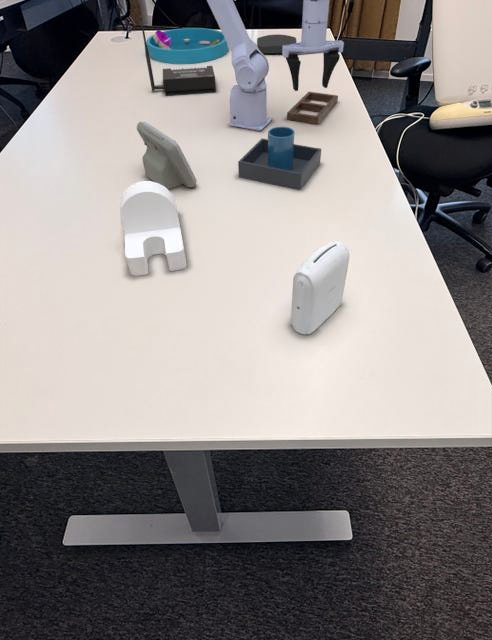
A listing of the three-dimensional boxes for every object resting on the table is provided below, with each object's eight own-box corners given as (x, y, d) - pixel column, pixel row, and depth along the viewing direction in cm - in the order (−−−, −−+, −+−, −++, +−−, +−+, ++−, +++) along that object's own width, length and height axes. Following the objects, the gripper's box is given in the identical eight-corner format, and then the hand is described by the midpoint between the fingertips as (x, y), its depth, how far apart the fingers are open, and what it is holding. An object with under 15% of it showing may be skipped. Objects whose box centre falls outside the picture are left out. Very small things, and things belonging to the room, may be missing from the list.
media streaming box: (296, 54, 158) (297, 44, 156) (257, 54, 159) (256, 44, 156) (295, 42, 168) (295, 33, 166) (257, 43, 168) (257, 33, 166)
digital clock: (199, 189, 96) (193, 140, 88) (161, 199, 94) (151, 149, 86) (176, 159, 106) (168, 112, 98) (140, 168, 104) (129, 120, 95)
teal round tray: (161, 39, 175) (158, 21, 170) (234, 40, 172) (233, 22, 167) (138, 62, 156) (134, 43, 151) (219, 64, 153) (218, 44, 148)
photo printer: (308, 339, 66) (315, 275, 57) (286, 327, 68) (289, 263, 59) (344, 304, 71) (357, 240, 62) (323, 293, 73) (331, 229, 64)
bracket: (187, 268, 78) (177, 211, 69) (130, 276, 77) (113, 219, 68) (177, 213, 90) (168, 158, 82) (128, 219, 89) (113, 164, 80)
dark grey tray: (238, 177, 100) (238, 161, 97) (261, 153, 107) (261, 138, 105) (300, 190, 96) (301, 174, 93) (320, 164, 103) (321, 148, 100)
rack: (286, 119, 121) (287, 112, 119) (308, 98, 131) (308, 91, 129) (318, 124, 118) (318, 117, 117) (337, 102, 128) (338, 95, 127)
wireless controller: (212, 77, 144) (207, 12, 131) (216, 92, 135) (211, 24, 122) (152, 81, 143) (141, 16, 129) (151, 96, 134) (139, 28, 121)
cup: (262, 167, 101) (262, 132, 95) (280, 159, 104) (281, 124, 98) (280, 176, 98) (281, 140, 92) (297, 167, 101) (299, 132, 95)
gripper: (339, 14, 102) (332, 80, 112) (279, 19, 100) (278, 85, 110) (349, 21, 97) (341, 89, 108) (287, 26, 95) (285, 95, 106)
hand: (310, 88), depth 109 cm, fingers open, 7 cm apart
